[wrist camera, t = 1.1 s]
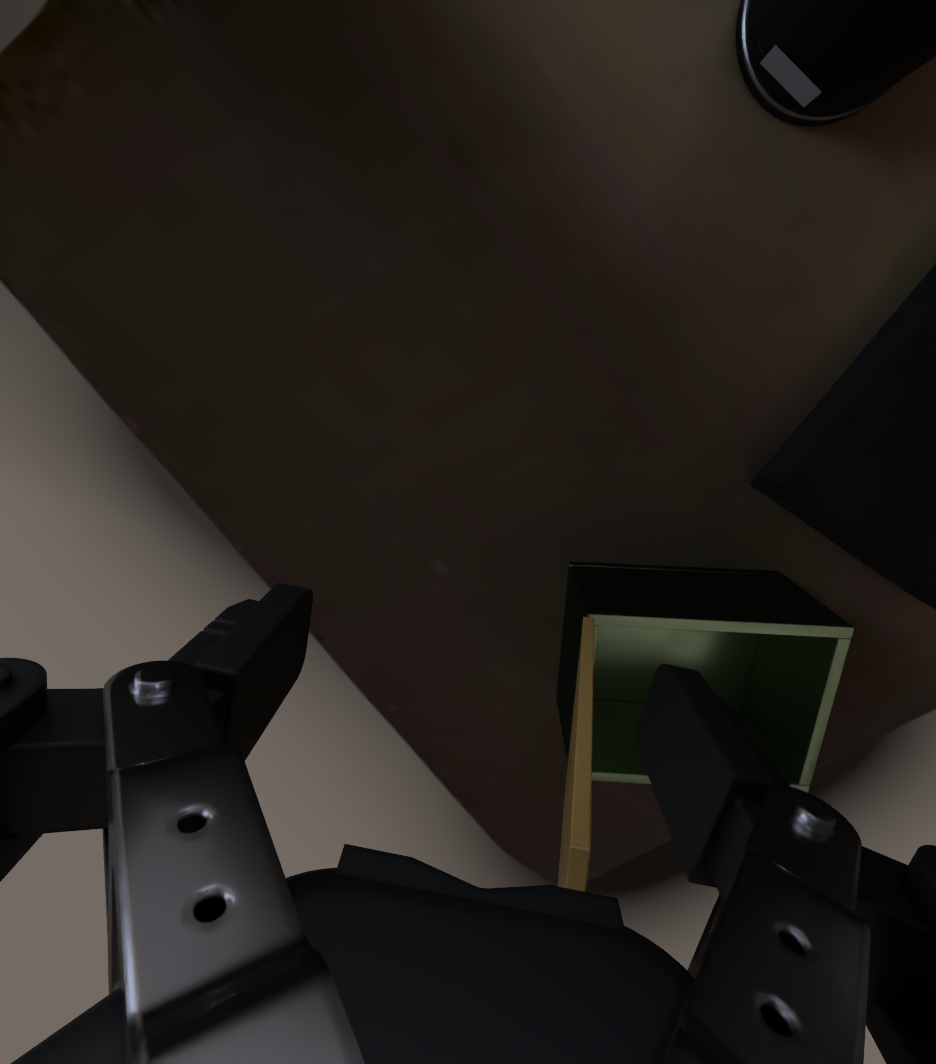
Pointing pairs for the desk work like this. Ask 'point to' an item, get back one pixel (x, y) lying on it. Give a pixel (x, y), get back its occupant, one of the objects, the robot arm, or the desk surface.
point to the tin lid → (579, 773)
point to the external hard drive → (873, 453)
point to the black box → (702, 656)
